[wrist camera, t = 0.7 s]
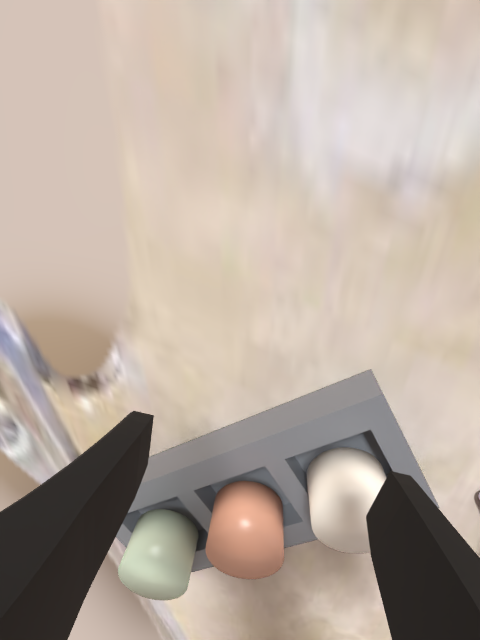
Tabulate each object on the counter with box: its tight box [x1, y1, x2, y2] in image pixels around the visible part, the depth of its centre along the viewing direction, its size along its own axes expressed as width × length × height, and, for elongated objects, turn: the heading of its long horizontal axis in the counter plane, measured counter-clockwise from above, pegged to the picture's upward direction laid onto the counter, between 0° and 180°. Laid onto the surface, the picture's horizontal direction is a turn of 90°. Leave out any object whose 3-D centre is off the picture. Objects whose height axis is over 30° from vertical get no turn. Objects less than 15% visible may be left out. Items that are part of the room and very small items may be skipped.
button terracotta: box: [206, 481, 284, 579], centre depth 20 cm, size 4×4×3 cm
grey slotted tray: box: [116, 369, 439, 572], centre depth 22 cm, size 9×21×2 cm, turn 120°
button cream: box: [307, 447, 386, 554], centre depth 18 cm, size 4×4×3 cm
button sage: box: [118, 509, 199, 600], centre depth 22 cm, size 4×4×3 cm
